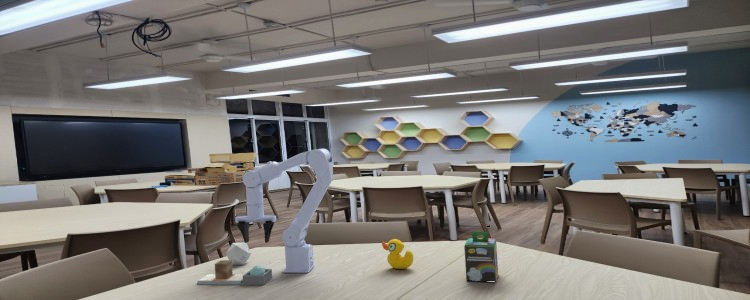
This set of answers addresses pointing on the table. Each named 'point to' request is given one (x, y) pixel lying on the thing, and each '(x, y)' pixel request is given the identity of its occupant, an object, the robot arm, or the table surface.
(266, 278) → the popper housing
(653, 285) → the table surface
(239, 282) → the game board
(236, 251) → the die
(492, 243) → the chalk box
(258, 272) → the dome
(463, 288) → the table surface
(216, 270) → the brown wooden block
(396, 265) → the duckling
